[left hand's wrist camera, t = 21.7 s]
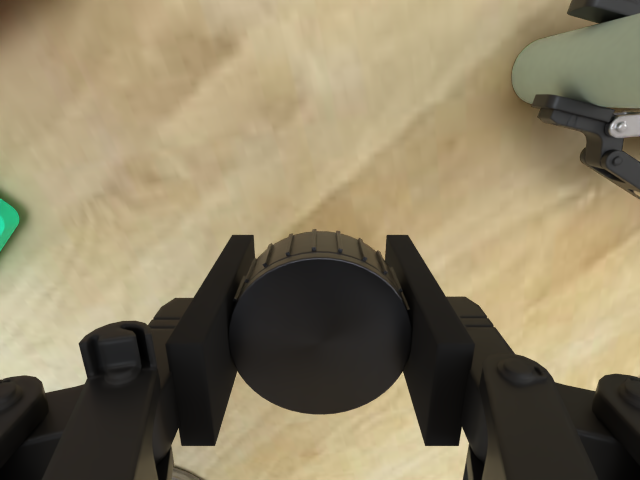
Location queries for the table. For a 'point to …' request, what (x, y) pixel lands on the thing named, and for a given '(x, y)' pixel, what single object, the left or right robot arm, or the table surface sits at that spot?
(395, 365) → the lid
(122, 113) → the table surface
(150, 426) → the left robot arm
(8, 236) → the camera mount
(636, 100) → the jar
